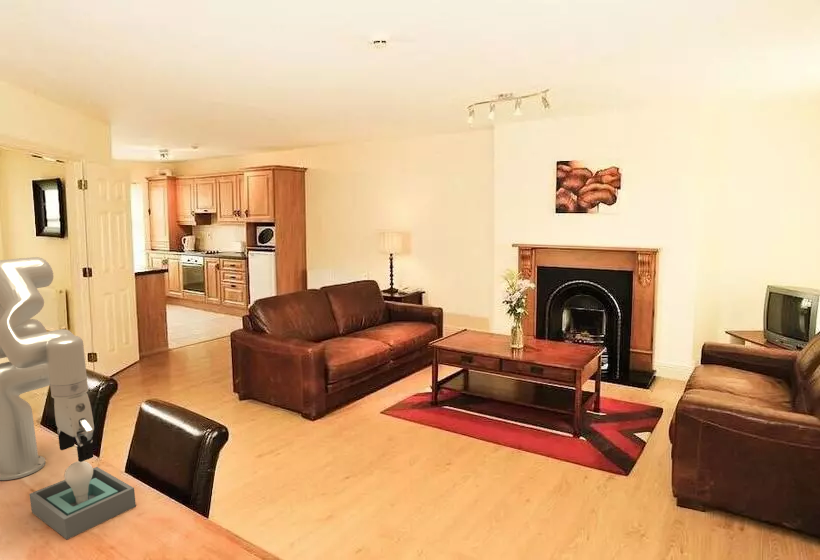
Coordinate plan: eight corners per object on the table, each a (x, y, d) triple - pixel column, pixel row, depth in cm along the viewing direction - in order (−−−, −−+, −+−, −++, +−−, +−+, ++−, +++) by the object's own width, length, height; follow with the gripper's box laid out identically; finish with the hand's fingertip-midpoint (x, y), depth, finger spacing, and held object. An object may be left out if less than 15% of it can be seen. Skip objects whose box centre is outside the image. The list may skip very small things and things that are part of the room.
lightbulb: (102, 498, 138) (97, 457, 137) (83, 511, 132) (78, 468, 131) (81, 497, 139) (77, 456, 138) (62, 509, 133) (57, 466, 132)
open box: (135, 506, 136) (134, 487, 136) (66, 539, 124) (64, 519, 123) (98, 484, 147) (96, 466, 146) (31, 512, 134) (29, 493, 134)
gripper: (103, 390, 128) (109, 457, 131) (69, 375, 138) (76, 438, 141) (69, 400, 122) (76, 470, 125) (36, 384, 132) (44, 449, 135)
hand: (76, 453), depth 133 cm, fingers open, 9 cm apart
